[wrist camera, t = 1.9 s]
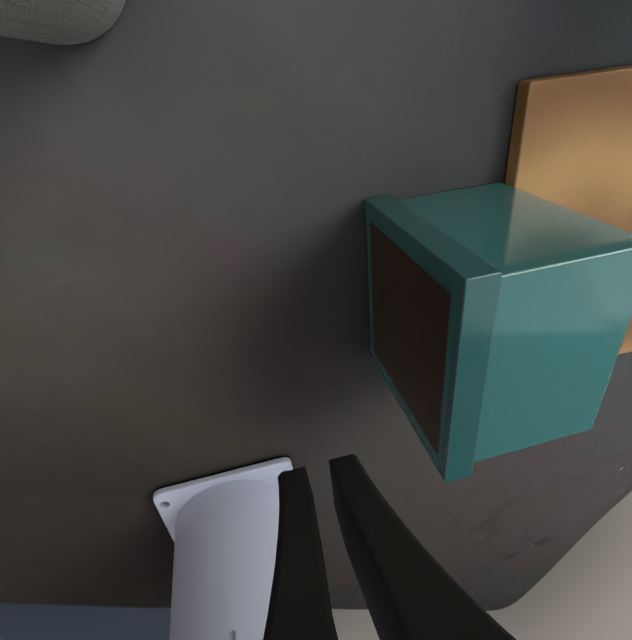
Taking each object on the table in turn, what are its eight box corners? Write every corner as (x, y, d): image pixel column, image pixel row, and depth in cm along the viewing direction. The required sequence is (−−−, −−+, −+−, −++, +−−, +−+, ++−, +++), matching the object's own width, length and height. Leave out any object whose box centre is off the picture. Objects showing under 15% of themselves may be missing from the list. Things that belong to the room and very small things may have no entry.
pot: (480, 331, 24) (596, 440, 17) (370, 356, 23) (445, 483, 16) (501, 174, 19) (672, 235, 12) (363, 198, 18) (464, 279, 11)
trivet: (645, 338, 27) (657, 345, 27) (477, 380, 26) (484, 389, 25) (759, 46, 19) (780, 45, 18) (517, 80, 17) (530, 80, 16)
